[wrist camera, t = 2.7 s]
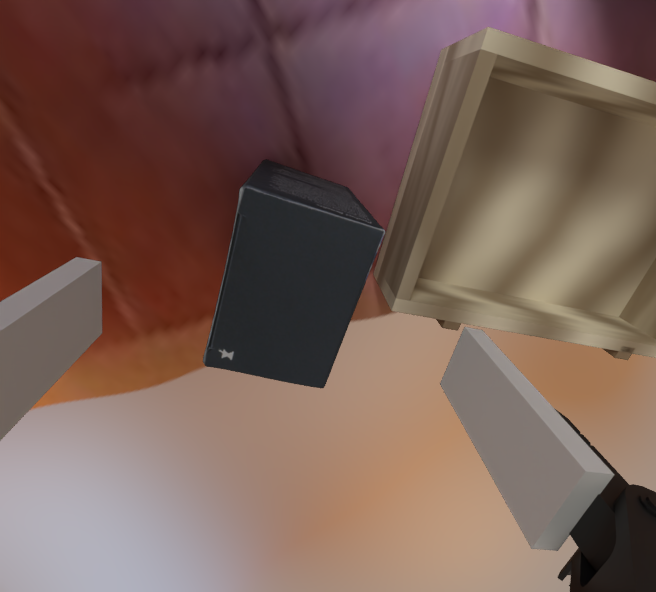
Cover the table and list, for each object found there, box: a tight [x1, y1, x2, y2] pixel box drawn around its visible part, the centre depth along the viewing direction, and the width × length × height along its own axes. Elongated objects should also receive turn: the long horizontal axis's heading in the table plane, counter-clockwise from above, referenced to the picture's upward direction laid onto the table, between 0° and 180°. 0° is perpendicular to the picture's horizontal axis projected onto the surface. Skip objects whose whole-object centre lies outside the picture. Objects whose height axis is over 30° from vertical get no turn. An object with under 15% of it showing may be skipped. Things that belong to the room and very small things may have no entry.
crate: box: [373, 27, 656, 360], centre depth 22 cm, size 20×14×6 cm
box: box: [203, 160, 385, 388], centre depth 19 cm, size 8×6×11 cm
